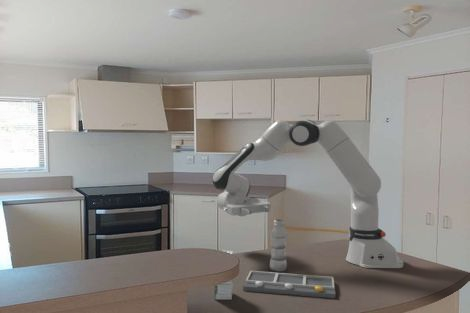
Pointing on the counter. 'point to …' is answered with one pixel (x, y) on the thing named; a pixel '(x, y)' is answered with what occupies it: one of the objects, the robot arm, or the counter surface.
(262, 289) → the board
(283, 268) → the plastic bottle
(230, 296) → the syrup box
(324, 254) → the counter surface
